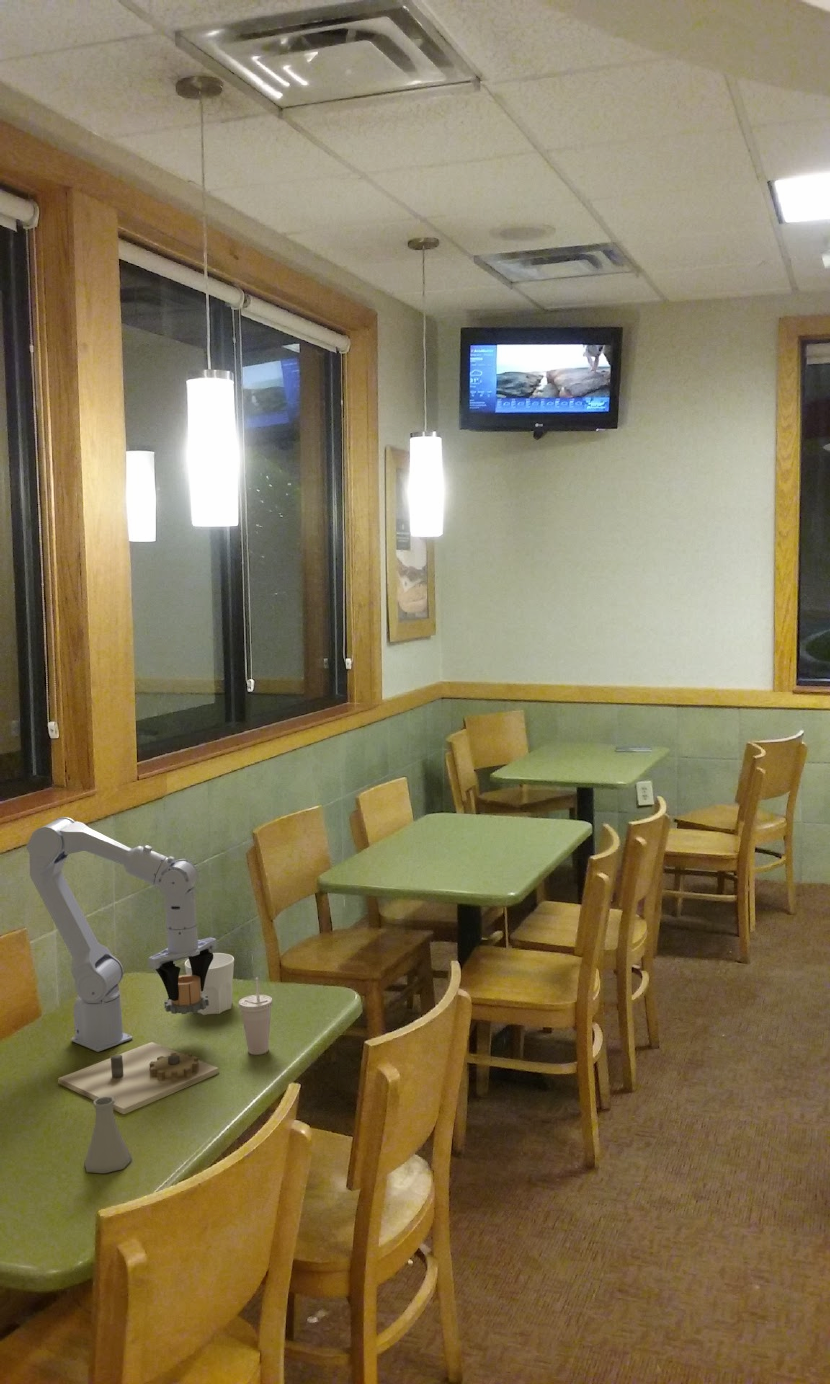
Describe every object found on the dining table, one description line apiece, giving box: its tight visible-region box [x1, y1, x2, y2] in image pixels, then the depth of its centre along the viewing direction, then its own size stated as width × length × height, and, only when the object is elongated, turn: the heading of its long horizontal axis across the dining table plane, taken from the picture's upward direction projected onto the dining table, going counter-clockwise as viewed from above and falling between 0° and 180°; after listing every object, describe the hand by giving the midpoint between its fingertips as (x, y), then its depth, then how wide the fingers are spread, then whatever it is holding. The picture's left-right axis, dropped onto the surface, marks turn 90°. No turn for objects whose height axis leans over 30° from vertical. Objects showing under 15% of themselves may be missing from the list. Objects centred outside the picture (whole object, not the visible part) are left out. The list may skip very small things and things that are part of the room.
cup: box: [184, 952, 235, 1016], centre depth 244 cm, size 10×10×10 cm
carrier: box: [57, 1041, 220, 1115], centre depth 211 cm, size 20×20×4 cm
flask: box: [83, 1096, 133, 1174], centre depth 181 cm, size 7×7×10 cm
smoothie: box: [238, 977, 274, 1056], centre depth 221 cm, size 6×6×14 cm
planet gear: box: [164, 974, 209, 1015], centre depth 226 cm, size 8×8×5 cm
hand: (186, 995), depth 226 cm, fingers closed on planet gear, 5 cm apart
